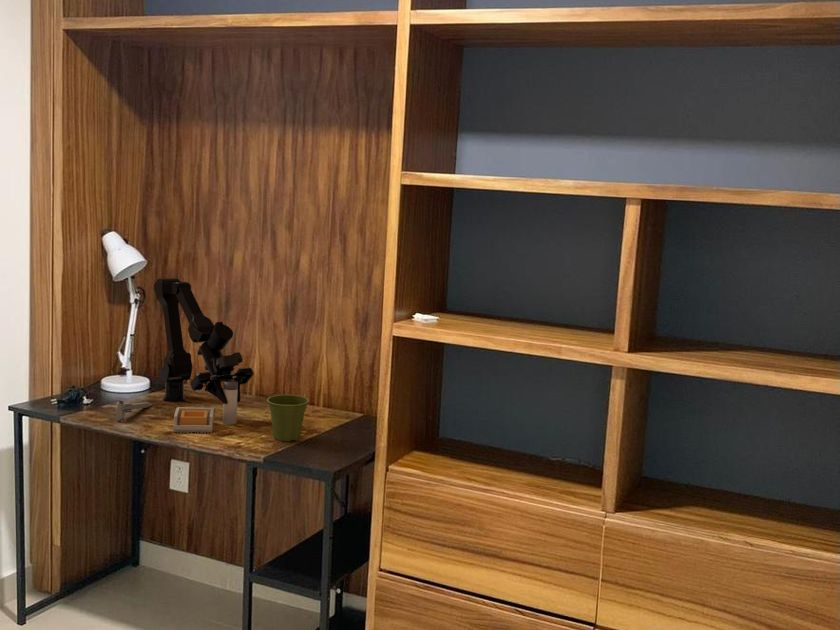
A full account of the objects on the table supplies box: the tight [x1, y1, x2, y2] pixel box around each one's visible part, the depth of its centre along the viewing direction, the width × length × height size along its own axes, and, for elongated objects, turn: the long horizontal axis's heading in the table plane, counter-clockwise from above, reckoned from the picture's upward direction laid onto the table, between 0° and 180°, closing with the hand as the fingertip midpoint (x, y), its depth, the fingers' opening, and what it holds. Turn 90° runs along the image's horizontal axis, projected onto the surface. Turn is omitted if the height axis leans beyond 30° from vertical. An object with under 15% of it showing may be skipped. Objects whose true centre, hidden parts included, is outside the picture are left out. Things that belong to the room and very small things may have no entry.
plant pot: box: [266, 394, 310, 442], centre depth 241 cm, size 12×12×11 cm
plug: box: [222, 380, 238, 426], centre depth 252 cm, size 4×4×12 cm
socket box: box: [172, 406, 215, 434], centre depth 245 cm, size 11×11×4 cm
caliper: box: [116, 399, 153, 422], centre depth 256 cm, size 20×1×6 cm, turn 172°
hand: (232, 402), depth 251 cm, fingers closed on plug, 4 cm apart
